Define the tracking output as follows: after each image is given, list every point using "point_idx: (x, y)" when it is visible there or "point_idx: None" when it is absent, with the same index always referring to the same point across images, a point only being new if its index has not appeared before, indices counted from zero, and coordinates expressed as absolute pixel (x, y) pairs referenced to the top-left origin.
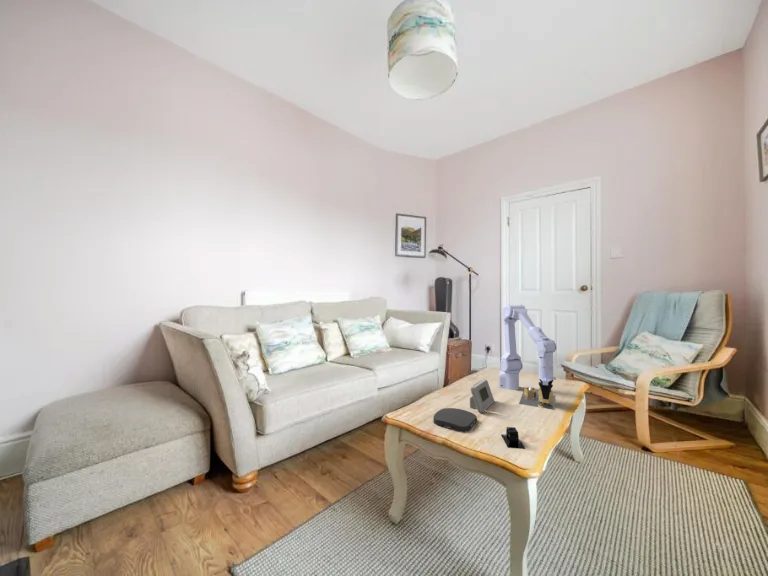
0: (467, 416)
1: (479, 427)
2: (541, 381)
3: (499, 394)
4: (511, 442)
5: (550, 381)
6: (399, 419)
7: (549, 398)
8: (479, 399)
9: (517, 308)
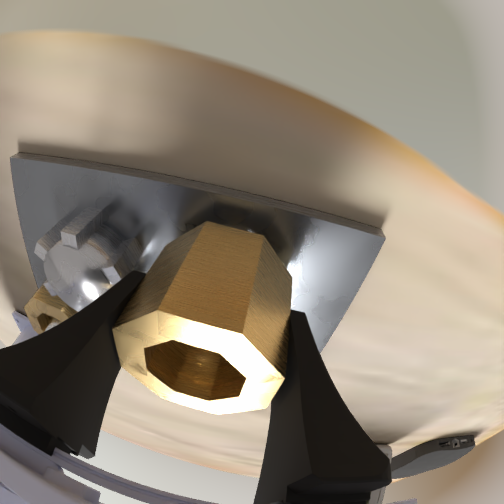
0: (440, 458)
1: (467, 429)
2: (95, 434)
3: (158, 404)
4: None
5: (55, 407)
6: (401, 478)
7: (282, 304)
8: None
9: None
